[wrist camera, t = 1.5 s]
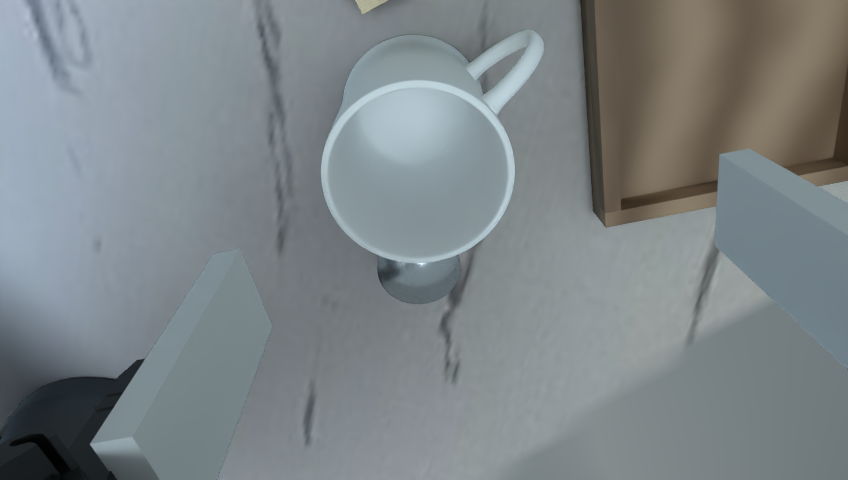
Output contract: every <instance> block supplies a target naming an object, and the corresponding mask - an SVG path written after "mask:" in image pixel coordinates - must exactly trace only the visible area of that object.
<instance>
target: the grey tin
mask: <svg viewBox="0 0 848 480" xmlns="http://www.w3.org/2000/svg"><path fill="white" fill-rule="evenodd" d="M460 267H461V266H460V259H459V254H458V255H456V256H453V257H450V258H447V259H444V260H440V261H434V262H427V263H407V262H400V261H395V260H391V259H387V258H384V257H381V256H379V255H378V267H377V270H378V277H379V280H380V282H381V284H382V286H383V287H384V289H385V290H386V291H387V292H388V293H389V294H390V295H392V296H393V297H395V298H396V299H398V300H401V301H403V302H406V303H411V304H425V303H430V302H433V301H436V300H438V299H440V298H442V297H444V296H445V295H447V294H448V293H449V292H450V291H451V290H452V289H453V288H454V286H455V285H456V283H457V281H458V278H459V276H460Z"/></svg>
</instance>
